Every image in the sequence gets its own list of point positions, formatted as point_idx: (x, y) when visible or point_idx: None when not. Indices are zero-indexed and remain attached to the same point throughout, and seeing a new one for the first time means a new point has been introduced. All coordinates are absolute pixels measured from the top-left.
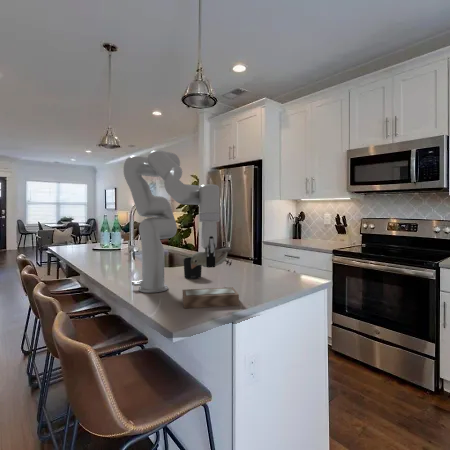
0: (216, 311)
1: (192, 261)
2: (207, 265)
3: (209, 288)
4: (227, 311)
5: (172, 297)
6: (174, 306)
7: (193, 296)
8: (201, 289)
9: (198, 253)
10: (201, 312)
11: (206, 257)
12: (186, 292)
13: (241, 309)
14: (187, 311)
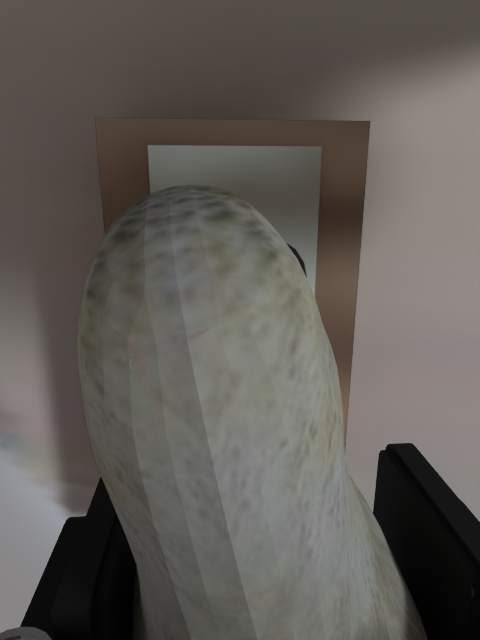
0: (31, 349)
1: (110, 227)
2: (102, 482)
3: (350, 362)
4: (27, 412)
5: (432, 48)
6: (177, 56)
7: (112, 208)
8: (332, 295)
9: (145, 478)
10: (15, 252)
11: (81, 588)
12: (240, 152)
13: (61, 490)
14: (43, 155)
